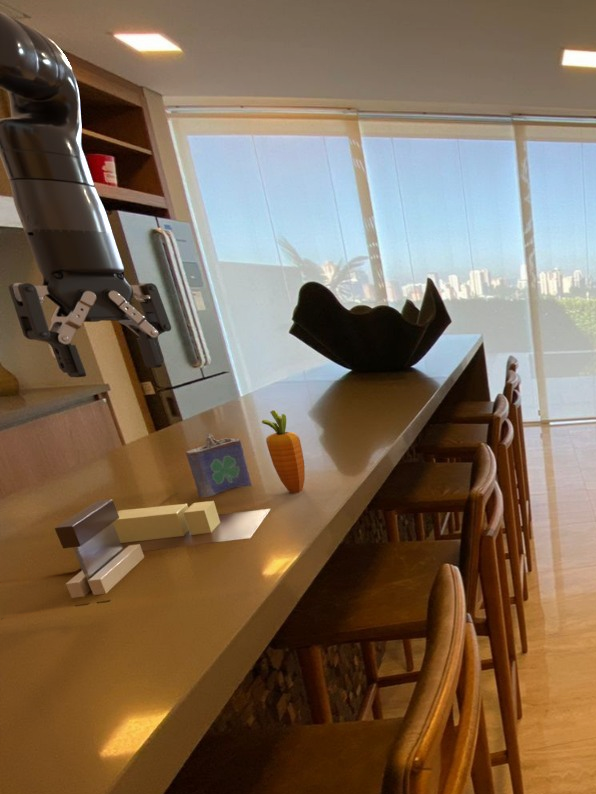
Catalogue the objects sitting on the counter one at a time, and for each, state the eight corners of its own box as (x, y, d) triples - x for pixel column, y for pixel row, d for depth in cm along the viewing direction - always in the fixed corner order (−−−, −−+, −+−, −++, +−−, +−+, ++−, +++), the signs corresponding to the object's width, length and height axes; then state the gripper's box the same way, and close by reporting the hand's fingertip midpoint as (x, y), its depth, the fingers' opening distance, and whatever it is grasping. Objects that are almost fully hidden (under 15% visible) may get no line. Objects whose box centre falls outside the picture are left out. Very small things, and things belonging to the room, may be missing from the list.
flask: (208, 504, 94) (189, 442, 90) (195, 502, 95) (175, 440, 91) (256, 486, 103) (241, 429, 99) (244, 485, 103) (228, 428, 99)
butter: (114, 544, 77) (105, 520, 76) (128, 533, 81) (119, 510, 79) (184, 536, 80) (176, 513, 78) (194, 525, 83) (187, 503, 82)
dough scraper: (103, 601, 65) (72, 526, 62) (86, 603, 65) (54, 528, 61) (138, 567, 73) (112, 499, 70) (123, 569, 73) (96, 500, 69)
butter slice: (190, 535, 80) (183, 512, 78) (200, 524, 83) (193, 502, 82) (211, 532, 80) (204, 510, 79) (220, 522, 84) (213, 500, 83)
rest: (109, 602, 65) (100, 579, 64) (75, 606, 64) (65, 583, 63) (147, 564, 74) (140, 544, 73) (117, 568, 73) (109, 547, 72)
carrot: (309, 501, 96) (288, 413, 90) (276, 504, 94) (253, 415, 89) (316, 491, 100) (296, 407, 95) (285, 494, 99) (263, 409, 93)
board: (93, 565, 74) (90, 557, 73) (135, 530, 84) (132, 523, 84) (251, 546, 79) (249, 538, 79) (272, 515, 90) (270, 508, 89)
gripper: (117, 235, 73) (157, 364, 79) (-35, 224, 60) (27, 378, 66) (157, 233, 70) (196, 366, 76) (8, 221, 58) (68, 381, 64)
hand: (117, 371), depth 71 cm, fingers open, 8 cm apart
